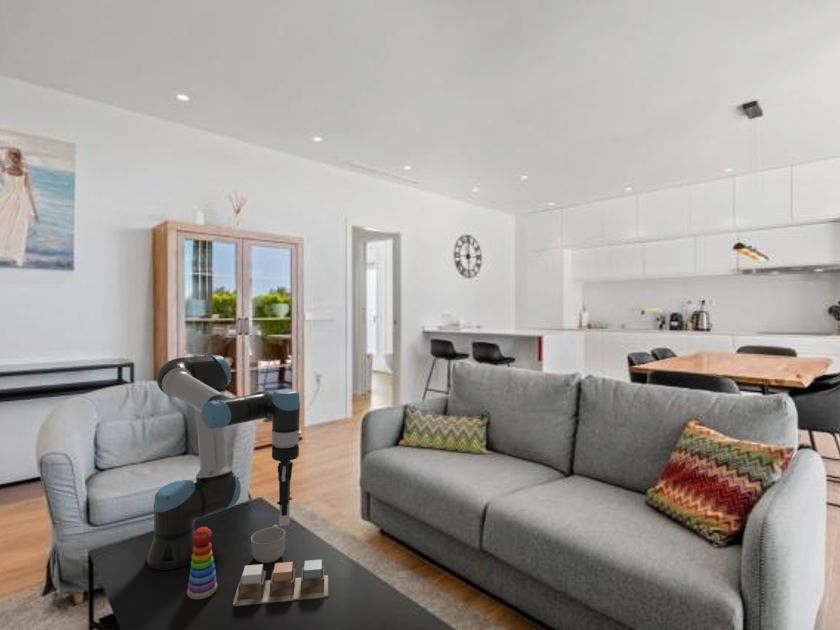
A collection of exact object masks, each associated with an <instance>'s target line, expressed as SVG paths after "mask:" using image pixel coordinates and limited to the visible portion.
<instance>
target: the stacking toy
mask: <svg viewBox="0 0 840 630" xmlns="http://www.w3.org/2000/svg"><path fill="white" fill-rule="evenodd" d="M194 531H195V532H194V534H193V542H194V544H195V546H194V547H193V552H194V553H193V554H192V557H191V558H192V561H191V563H190V569H189V573H190V574H189V576H188V577H189V579H188V580H189V581H188V583H187V590H186V593H187V596H188V597H189V598H190V599H192V600H202V599H206V598H208V597H210V596H212V595H213V594H214V593H215V592H216V591H217V590H218V583H217V572H216V564H215V563H214V561H215V560H214V558H215V557H214V556H213V550H212V549H213V545H212V543H211V540H212V537H213V533H212V531H211V529H210V527H207V526H202V527H198V528H197V529H196V530H194Z"/></svg>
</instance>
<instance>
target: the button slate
mask: <svg viewBox="0 0 840 630" xmlns="http://www.w3.org/2000/svg"><path fill="white" fill-rule="evenodd" d="M322 562H323V559H312V560H311V559H310V560H304V567H303V568H304V579H315V578H321V577H322V566H323V565H322V564H323V563H322Z"/></svg>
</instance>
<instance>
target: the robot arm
mask: <svg viewBox="0 0 840 630" xmlns="http://www.w3.org/2000/svg"><path fill="white" fill-rule="evenodd" d="M231 380H232V371H231V367H230V365H229V362H228V361H227V359H225V357H223V356H222V355H216V354H214V355H213V354H211V355H209V354H208V355H207V354H206V355H199V356H198V355H197V356H188V357H186V356H185V357H177V358H172V359H171V360H169V361H167V362H166V363H165V364H164V365H162V366H161V367H160V369H159V371H158V373H157V376H156V384H157V387H158V388H159V390H160V391H161V392H162V393H163V394H165V395H166V396H168V397H172V398H177V399H179V400H181V402H184V403H185V404H187V405H188V406H190V407H192V408H193V409H195V418H196V420H195V421H196V431H197V432H196V433H197V443H198V459H199V468H200V469H199V471H198V472H197V474H196V475H195V482H194V481H193V480H190V479H183V480H175V481H173V482H170V483H167V484H166V485H163V486H162V487H160V488H159V489H158V491H157V492H156V493H155V495H154V504H153V518H154V519H153V539H152V542H151V545H150V547H149V551H148V552H147V553H148V554H147V565H148V566H149V568H151V569H154V570H158V571H159V570H161V571H167V570H174V569H178V568H181V567H184V566H186V565H189V564H191V561H192V558H191V557H192V554H193V553H194V552H193V547H194V546H195V544H194V542H193V534H194V532H195V531H196V530H195V521H197V520H199V519H202V518H205V517H208V516H211V515H214V514H217V513H220V512H224V511H226V510H228V509H230V508H233V507H234V506H235V505H236V504H237V503H238V501H239V499H240V496H241V489H242V486H241V481H240V477H239V475H238V474H237V473H235V472H233V468H232V467H230V466H229V465H228V463H227V462H228V460H227V449H226V438H225V437H226V436H225V427H229V426H233V425H238V424H243V423H248V422H253V421H258V420H265V419H266V420H269V421H271V423H272V424H271V425H272V427H271V428H272V429H271V444H272V446H271V458H272V460H275V461H276V462H277V461H278V465H277V473H278V477H277V478H278V479H277V480H278V485H279V486H278V487H279V488H278V489H279V490H278V491H279V493H278V494H279V495H278V497H279V501H277V502H276V505H279V516H278V518H279V519H278V520H279V521H278V522H279V523H278V527H282V526H290V513H291V512H290V509H291V508H290V505H291V502H290V501H292V500H293V496H290V495H291V479H292V474H293V473H292V470H293V464H294V462H293V460H296V459H298V458H299V456H300V444H299V442H300V436H301V435H302V432H301V431H300V414H301V413H300V412H301V411H300V410H301V402H300V401H301V400H300V393H299V392H298V391H297V390H296V389H290V388H286V389H285V388H284V389H277V390H275V391H274V392H273V393H272V392H270V391H265V390H263V391H262V390H257V391H254V392H252V393H250V395H244V396H243V395H242V396H236V397H229V396H228V395H225V393H226V387H228V385H230V383H231Z"/></svg>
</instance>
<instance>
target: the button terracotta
mask: <svg viewBox="0 0 840 630" xmlns="http://www.w3.org/2000/svg"><path fill="white" fill-rule="evenodd" d="M293 565H294V563H293V561H286V562H276V563H275V564H274V567H273V568H274V569H273V570H274V573H273V582H281V581H292V574H293V568H294V567H293Z"/></svg>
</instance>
